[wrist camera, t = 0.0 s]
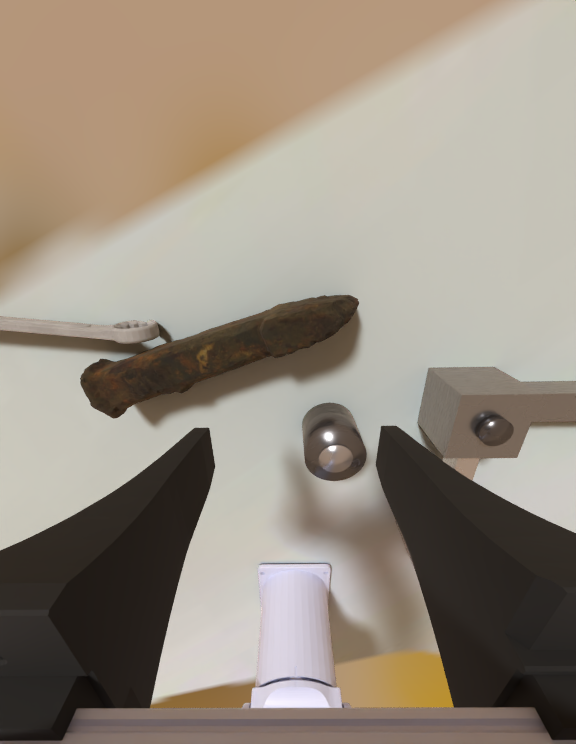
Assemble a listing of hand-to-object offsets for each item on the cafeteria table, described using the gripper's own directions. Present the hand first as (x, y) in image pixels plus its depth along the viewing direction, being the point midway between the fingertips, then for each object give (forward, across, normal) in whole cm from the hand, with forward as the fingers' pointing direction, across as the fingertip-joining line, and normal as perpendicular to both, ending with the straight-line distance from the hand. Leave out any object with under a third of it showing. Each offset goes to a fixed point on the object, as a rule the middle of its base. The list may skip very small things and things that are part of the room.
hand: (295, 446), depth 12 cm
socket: (+10, -3, +6) cm, 12 cm away
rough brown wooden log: (+11, +5, -2) cm, 12 cm away
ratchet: (+10, -21, +5) cm, 24 cm away
